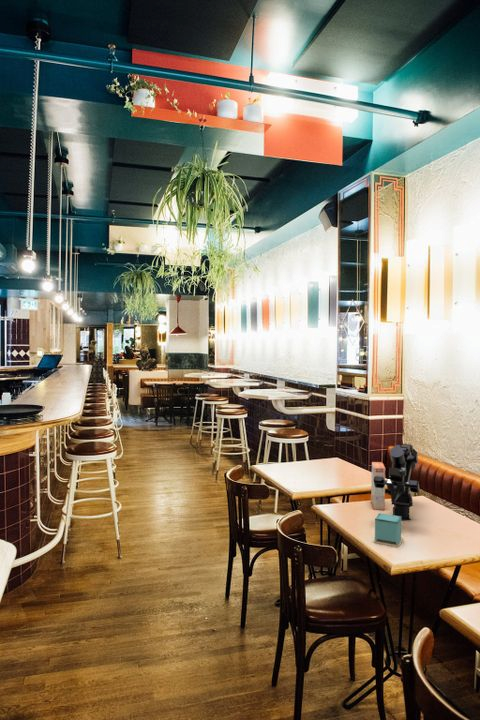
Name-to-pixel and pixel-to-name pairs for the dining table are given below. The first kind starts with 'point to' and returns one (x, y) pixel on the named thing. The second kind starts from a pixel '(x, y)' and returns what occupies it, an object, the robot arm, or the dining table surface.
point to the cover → (388, 527)
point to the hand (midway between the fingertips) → (393, 501)
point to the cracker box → (377, 493)
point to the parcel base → (389, 542)
